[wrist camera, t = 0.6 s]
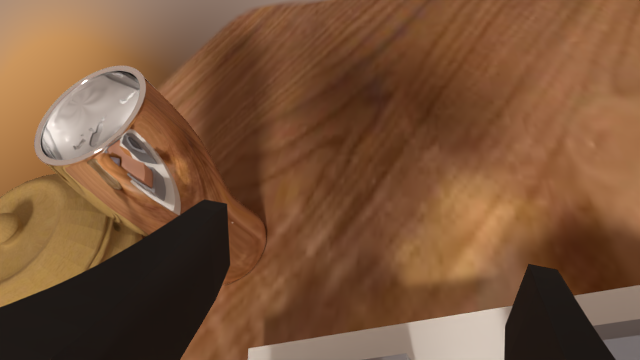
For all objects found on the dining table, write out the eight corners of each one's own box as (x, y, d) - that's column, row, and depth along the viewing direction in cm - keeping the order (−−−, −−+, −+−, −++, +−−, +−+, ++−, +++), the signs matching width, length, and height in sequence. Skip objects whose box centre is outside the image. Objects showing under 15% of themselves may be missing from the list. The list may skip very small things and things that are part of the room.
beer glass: (174, 289, 37) (6, 171, 26) (203, 205, 41) (68, 69, 29) (259, 294, 34) (113, 165, 23) (282, 204, 38) (167, 54, 27)
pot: (189, 222, 40) (105, 144, 33) (126, 376, 34) (6, 325, 27) (80, 217, 45) (-15, 148, 38) (9, 352, 39) (-122, 302, 32)
